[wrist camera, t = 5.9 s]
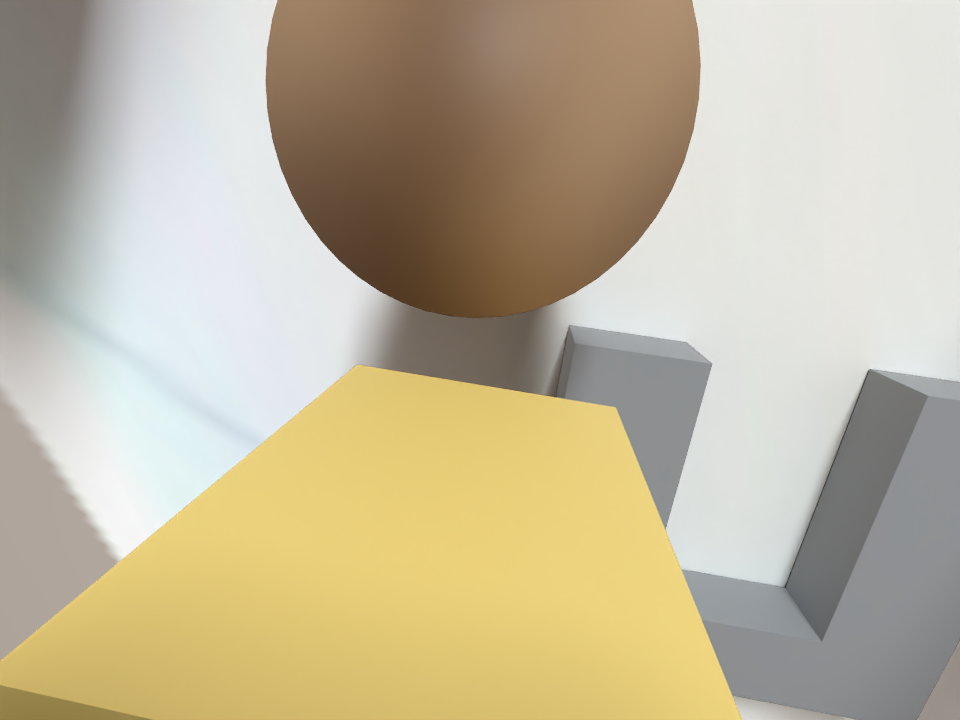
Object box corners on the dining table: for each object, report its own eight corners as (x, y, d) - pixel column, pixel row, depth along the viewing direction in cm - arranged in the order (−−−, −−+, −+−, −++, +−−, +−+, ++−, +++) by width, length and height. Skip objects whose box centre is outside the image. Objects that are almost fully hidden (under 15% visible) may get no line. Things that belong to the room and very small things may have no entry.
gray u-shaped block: (997, 387, 16) (1079, 418, 13) (864, 666, 19) (911, 729, 17) (569, 325, 17) (574, 343, 14) (517, 602, 20) (515, 653, 18)
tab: (544, 710, 10) (552, 1336, 5) (339, 666, 11) (103, 1201, 5) (615, 406, 8) (801, 866, 2) (356, 364, 8) (-22, 679, 3)
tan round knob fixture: (638, 47, 14) (759, -152, 7) (592, 284, 16) (643, 344, 9) (405, 22, 15) (264, -190, 7) (389, 255, 17) (267, 289, 9)
